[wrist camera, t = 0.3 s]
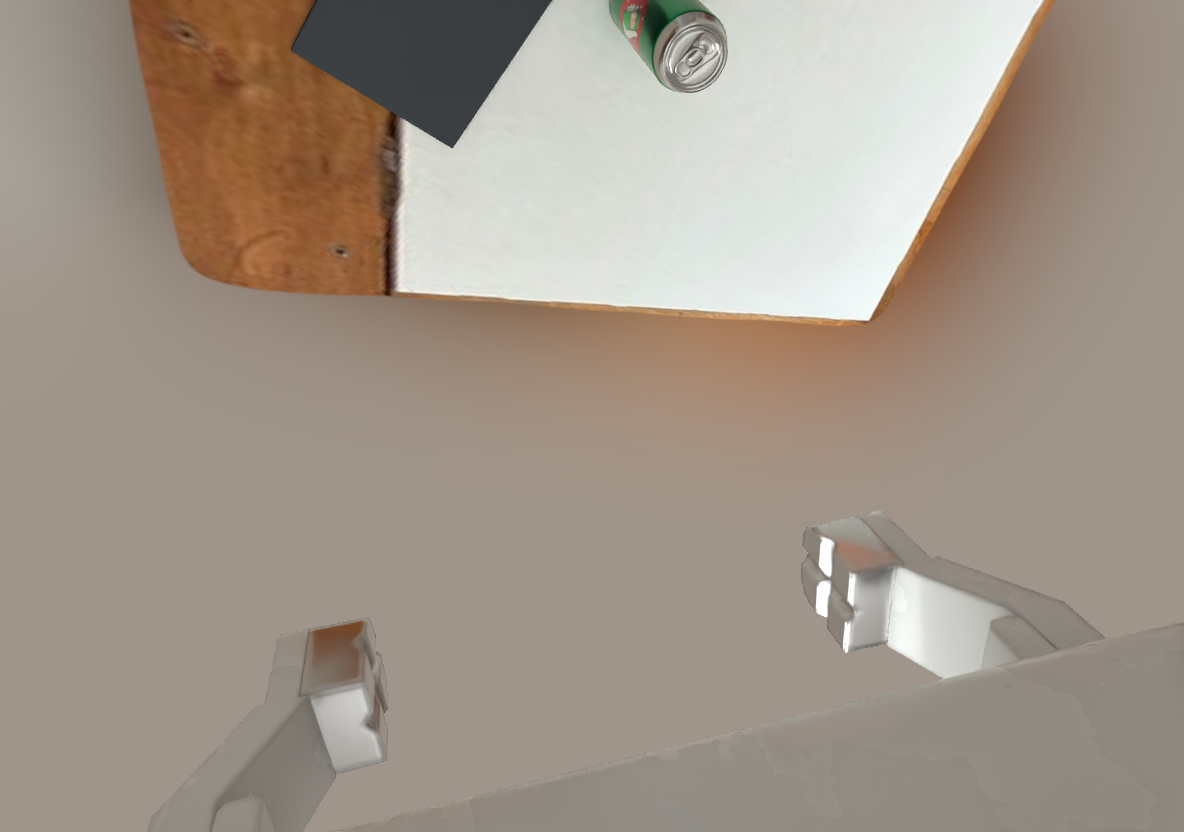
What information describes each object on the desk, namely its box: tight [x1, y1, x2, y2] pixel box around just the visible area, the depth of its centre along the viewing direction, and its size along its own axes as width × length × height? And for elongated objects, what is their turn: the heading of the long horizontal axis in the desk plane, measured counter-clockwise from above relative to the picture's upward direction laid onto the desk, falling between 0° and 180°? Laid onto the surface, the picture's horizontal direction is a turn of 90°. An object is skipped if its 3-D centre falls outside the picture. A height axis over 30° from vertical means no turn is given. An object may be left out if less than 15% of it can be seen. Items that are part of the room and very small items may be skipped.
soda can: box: [609, 0, 728, 93], centre depth 53 cm, size 5×5×12 cm
